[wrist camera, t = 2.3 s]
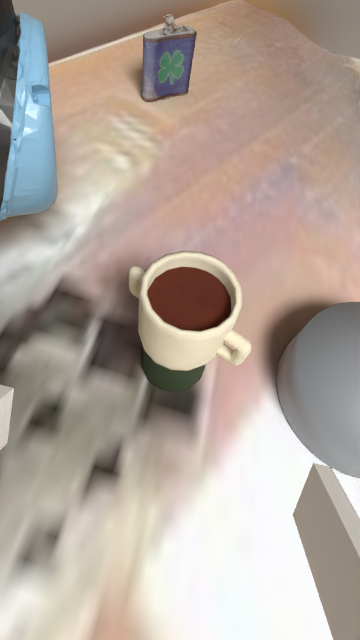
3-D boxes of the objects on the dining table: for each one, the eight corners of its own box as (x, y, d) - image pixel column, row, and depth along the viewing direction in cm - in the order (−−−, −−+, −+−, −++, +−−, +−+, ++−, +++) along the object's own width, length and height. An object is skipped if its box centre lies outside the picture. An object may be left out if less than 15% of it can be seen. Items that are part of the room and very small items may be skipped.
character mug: (236, 369, 34) (286, 300, 23) (197, 426, 31) (233, 378, 20) (152, 310, 36) (160, 221, 25) (107, 357, 33) (94, 279, 22)
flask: (146, 103, 56) (148, 23, 47) (137, 94, 57) (138, 14, 48) (191, 94, 59) (202, 17, 50) (182, 85, 60) (191, 9, 51)
